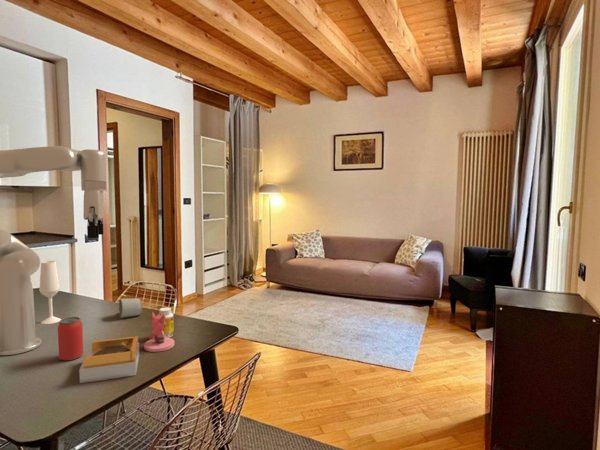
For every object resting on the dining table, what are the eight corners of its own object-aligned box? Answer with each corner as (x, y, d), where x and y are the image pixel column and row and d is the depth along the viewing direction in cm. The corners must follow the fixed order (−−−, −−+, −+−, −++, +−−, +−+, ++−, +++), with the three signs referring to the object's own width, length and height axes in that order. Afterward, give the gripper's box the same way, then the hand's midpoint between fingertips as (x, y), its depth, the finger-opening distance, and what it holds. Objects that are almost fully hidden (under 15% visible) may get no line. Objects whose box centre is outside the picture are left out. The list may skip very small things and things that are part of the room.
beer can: (71, 362, 111) (70, 324, 110) (53, 360, 112) (51, 322, 111) (88, 353, 117) (87, 317, 116) (71, 351, 118) (69, 315, 117)
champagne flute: (53, 324, 141) (50, 263, 139) (36, 323, 141) (33, 263, 139) (65, 318, 148) (62, 260, 146) (48, 317, 148) (46, 260, 146)
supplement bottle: (173, 338, 130) (173, 310, 129) (157, 340, 128) (156, 312, 127) (173, 332, 135) (173, 305, 134) (157, 334, 133) (157, 307, 132)
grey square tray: (79, 383, 99) (79, 360, 98) (89, 360, 112) (89, 340, 111) (135, 375, 104) (135, 353, 103) (139, 354, 117) (138, 335, 116)
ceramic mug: (143, 316, 152) (142, 298, 151) (121, 320, 147) (121, 301, 146) (137, 310, 160) (137, 293, 160) (117, 313, 155) (116, 296, 155)
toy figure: (180, 343, 126) (180, 309, 125) (159, 354, 117) (158, 318, 116) (159, 338, 130) (158, 305, 129) (137, 348, 121) (136, 313, 120)
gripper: (86, 186, 130) (88, 233, 132) (75, 186, 114) (77, 239, 116) (110, 186, 133) (111, 233, 135) (102, 186, 117) (104, 239, 119)
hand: (95, 236), depth 125 cm, fingers open, 9 cm apart
